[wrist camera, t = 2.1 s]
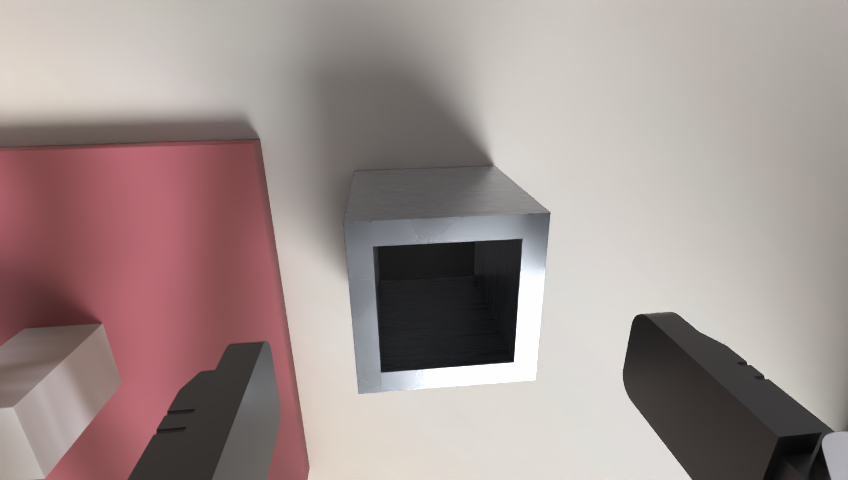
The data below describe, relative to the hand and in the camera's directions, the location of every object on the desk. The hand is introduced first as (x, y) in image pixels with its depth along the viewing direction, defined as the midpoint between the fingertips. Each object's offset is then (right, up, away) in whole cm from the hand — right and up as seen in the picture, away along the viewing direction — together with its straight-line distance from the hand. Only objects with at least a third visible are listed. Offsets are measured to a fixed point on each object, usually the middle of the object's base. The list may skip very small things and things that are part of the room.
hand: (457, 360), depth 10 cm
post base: (-14, -2, +9) cm, 17 cm away
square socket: (-1, +3, +8) cm, 9 cm away
